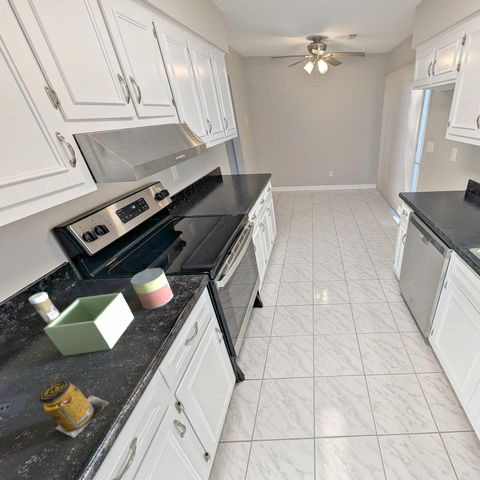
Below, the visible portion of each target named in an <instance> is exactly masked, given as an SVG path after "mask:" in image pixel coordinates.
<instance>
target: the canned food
mask: <svg viewBox="0 0 480 480" xmlns="http://www.w3.org/2000/svg"><path fill="white" fill-rule="evenodd" d="M130 283H131V285H132V286H133V289H134V291H135V293H136V295H137V297H138V299H139V301H140V303H141V306H142V308H144V309H147V310H152V309H153V310H154V309H157V308H160V307H162V306H164V305H166V304H168V302H170V301H172V298H174V297H173V296H174V293H173V291H172V289H171V286H170V283H169V281H168V279H167V276H166V274H165V271H164V269H163V268H161V267H154V268H153V267H152V268H148V269H145V270H142V271H140V272H137V274H135V275H133V277H131V279H130Z"/></svg>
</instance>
